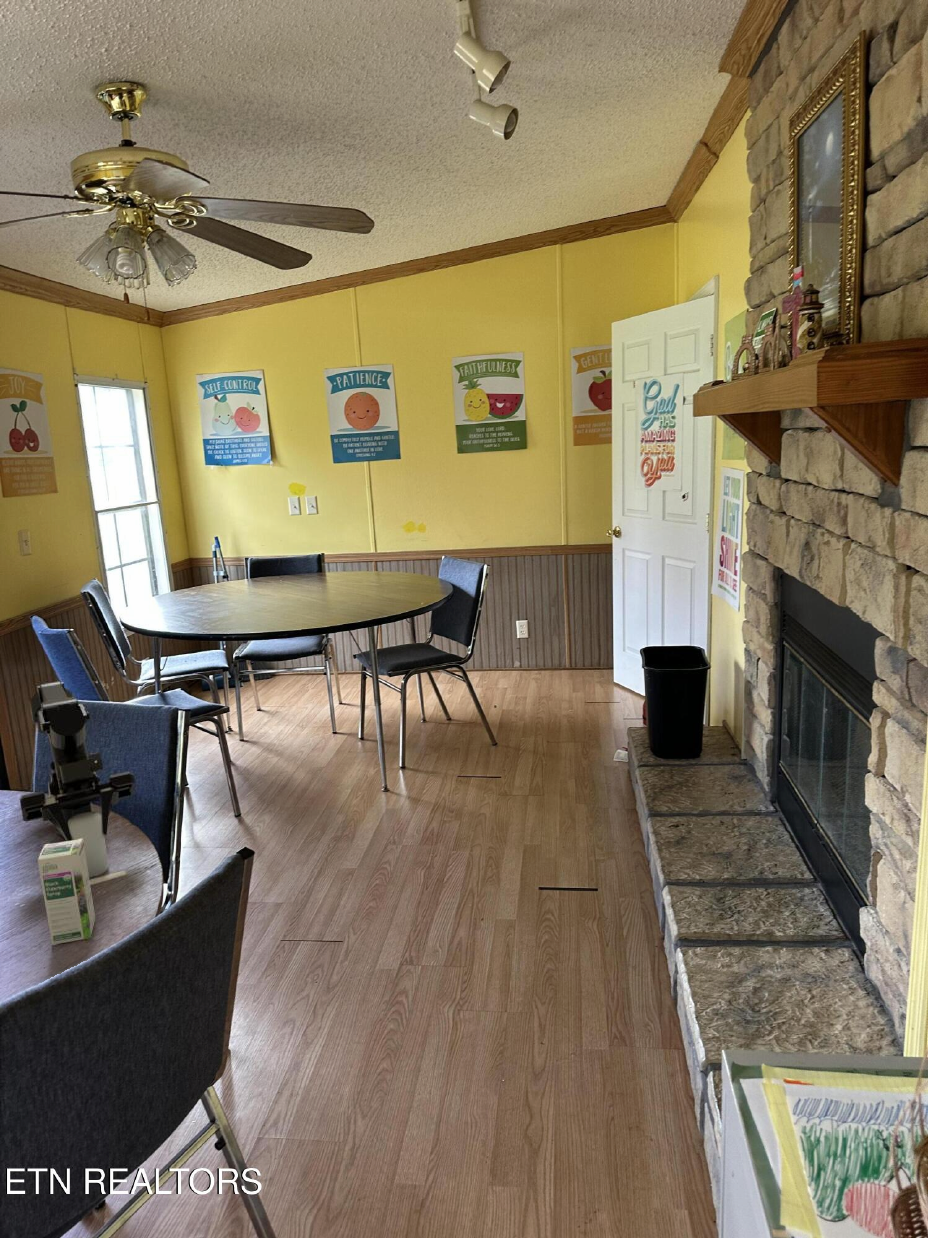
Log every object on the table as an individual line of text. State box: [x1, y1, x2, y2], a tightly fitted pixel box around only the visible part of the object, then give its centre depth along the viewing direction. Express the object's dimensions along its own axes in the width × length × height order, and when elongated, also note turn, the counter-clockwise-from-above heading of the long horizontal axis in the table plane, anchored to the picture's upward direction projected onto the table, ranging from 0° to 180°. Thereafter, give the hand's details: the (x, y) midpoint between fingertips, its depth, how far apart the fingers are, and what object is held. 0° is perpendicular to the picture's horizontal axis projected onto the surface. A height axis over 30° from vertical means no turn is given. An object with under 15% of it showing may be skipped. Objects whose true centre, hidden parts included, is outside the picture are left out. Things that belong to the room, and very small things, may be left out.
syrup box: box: [37, 838, 96, 946], centre depth 130 cm, size 6×6×14 cm
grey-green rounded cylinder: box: [68, 811, 109, 879], centre depth 150 cm, size 5×5×10 cm
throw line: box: [89, 870, 127, 886], centre depth 147 cm, size 10×2×1 cm, turn 121°
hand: (88, 839), depth 148 cm, fingers closed on grey-green rounded cylinder, 5 cm apart
